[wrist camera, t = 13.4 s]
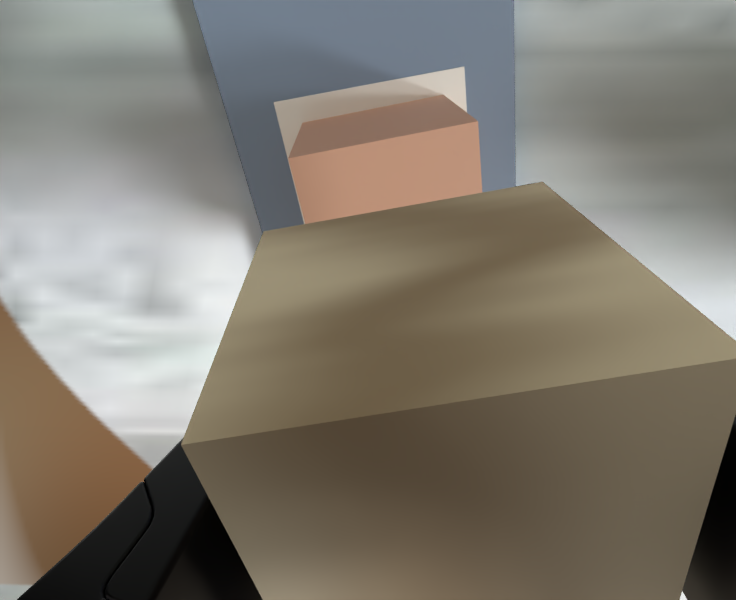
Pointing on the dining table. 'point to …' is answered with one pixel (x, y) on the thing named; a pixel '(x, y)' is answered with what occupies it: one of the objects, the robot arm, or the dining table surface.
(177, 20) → the dining table surface
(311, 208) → the terracotta block
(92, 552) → the robot arm
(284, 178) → the baseplate
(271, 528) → the beech block
